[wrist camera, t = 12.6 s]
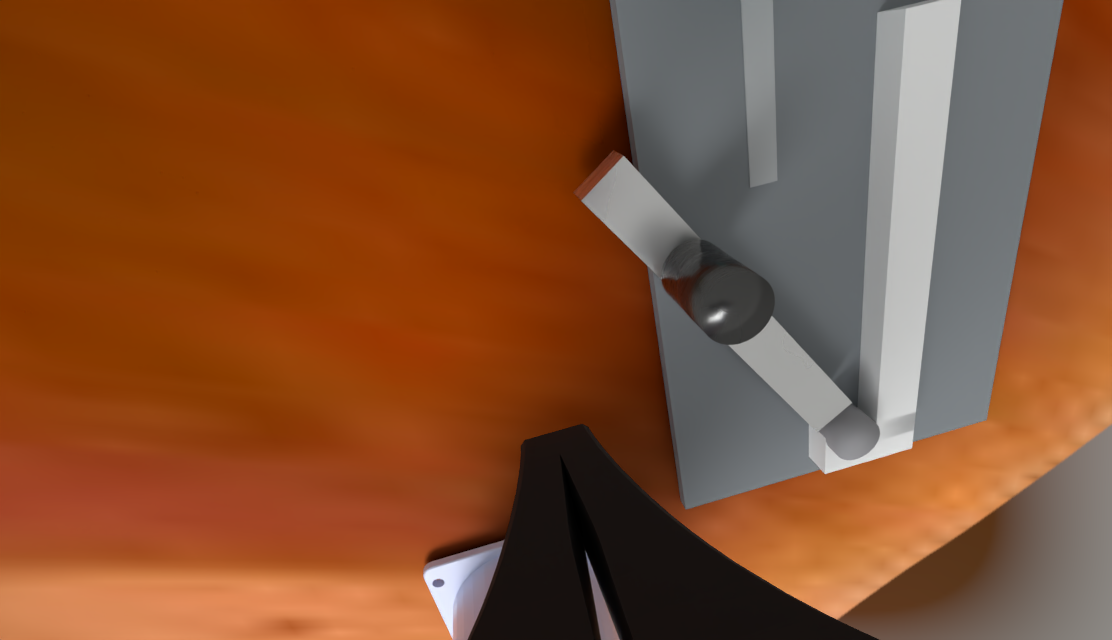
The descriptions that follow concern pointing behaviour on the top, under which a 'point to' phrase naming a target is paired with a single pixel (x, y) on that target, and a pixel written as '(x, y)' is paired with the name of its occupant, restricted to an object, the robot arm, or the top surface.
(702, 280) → the black knobbed slide plate
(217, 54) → the top surface
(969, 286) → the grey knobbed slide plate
